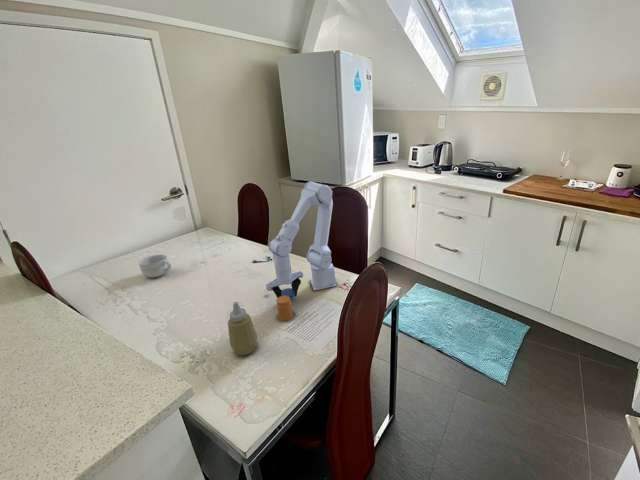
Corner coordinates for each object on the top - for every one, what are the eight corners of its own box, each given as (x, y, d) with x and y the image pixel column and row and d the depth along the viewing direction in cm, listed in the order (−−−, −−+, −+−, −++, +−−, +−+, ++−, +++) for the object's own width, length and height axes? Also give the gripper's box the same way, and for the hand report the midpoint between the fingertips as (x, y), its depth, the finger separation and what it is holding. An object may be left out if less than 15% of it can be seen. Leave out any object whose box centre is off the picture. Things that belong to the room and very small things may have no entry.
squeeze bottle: (237, 341, 103) (226, 295, 96) (262, 339, 104) (252, 294, 97) (228, 359, 96) (216, 312, 89) (255, 357, 96) (245, 310, 89)
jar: (290, 310, 118) (288, 293, 115) (294, 317, 114) (291, 300, 111) (277, 314, 116) (274, 297, 113) (280, 322, 112) (277, 305, 109)
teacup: (138, 277, 141) (132, 262, 138) (161, 266, 150) (156, 251, 147) (159, 283, 136) (153, 267, 133) (181, 271, 145) (176, 256, 142)
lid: (278, 300, 119) (277, 296, 119) (282, 292, 125) (281, 288, 124) (293, 300, 120) (292, 296, 119) (296, 292, 125) (296, 288, 124)
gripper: (269, 279, 110) (274, 311, 115) (305, 265, 119) (309, 295, 124) (261, 272, 115) (266, 302, 120) (296, 259, 124) (300, 288, 129)
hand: (287, 298), depth 123 cm, fingers closed on lid, 6 cm apart
